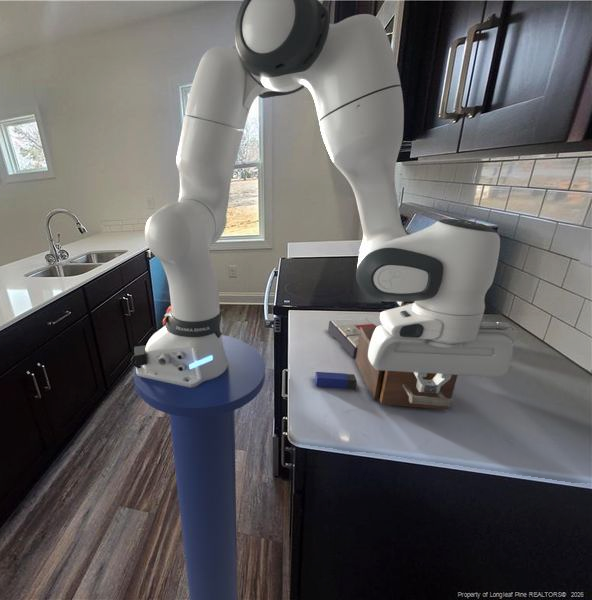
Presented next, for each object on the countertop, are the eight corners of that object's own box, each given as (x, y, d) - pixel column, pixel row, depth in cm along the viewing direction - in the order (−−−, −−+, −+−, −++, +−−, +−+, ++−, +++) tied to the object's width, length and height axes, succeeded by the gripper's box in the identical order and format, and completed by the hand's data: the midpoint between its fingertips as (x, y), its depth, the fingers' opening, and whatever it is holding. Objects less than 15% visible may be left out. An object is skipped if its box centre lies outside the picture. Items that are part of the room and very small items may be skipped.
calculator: (355, 346, 77) (329, 318, 91) (352, 361, 79) (327, 331, 93) (399, 343, 78) (366, 315, 91) (396, 357, 79) (364, 328, 93)
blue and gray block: (316, 386, 70) (317, 377, 69) (314, 380, 72) (315, 371, 71) (355, 389, 68) (357, 380, 67) (352, 383, 70) (354, 373, 69)
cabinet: (444, 406, 62) (456, 364, 58) (373, 400, 65) (381, 360, 61) (412, 364, 75) (421, 328, 72) (355, 361, 78) (360, 326, 74)
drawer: (462, 428, 55) (474, 392, 52) (390, 422, 58) (397, 386, 55) (416, 369, 72) (423, 339, 69) (362, 366, 74) (366, 336, 72)
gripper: (506, 314, 52) (483, 384, 57) (370, 311, 57) (361, 376, 62) (535, 332, 47) (508, 407, 52) (382, 327, 51) (370, 397, 56)
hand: (426, 390), depth 57 cm, fingers closed
